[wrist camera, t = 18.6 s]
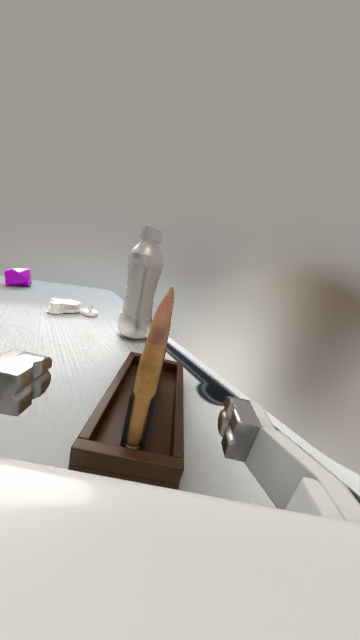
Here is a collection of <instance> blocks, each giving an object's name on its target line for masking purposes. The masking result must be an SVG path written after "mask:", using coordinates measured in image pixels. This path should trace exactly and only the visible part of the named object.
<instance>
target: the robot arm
mask: <svg viewBox="0 0 360 640" xmlns="http://www.w3.org/2000/svg"><path fill="white" fill-rule="evenodd" d="M51 367H52V360H51V358H50V357H46V356H42V355H38V354H33V353H29V352H25V351H20V350H10V351H7V352H5V353H3V354H1V355H0V414H6V415H12V416H18V415H20V414H21V413H22V412H23V411H24V410H25V409H26V408H27V407H29V406H30V405H31V403H32V399H35V398H37V397H40V396H41V395H42V394H43V393H44V392H45V391H46V389H47V388H48V386H49V384H50V381H51V374H50V373H49V371H48V369H49V368H51ZM223 404H224V407H225V408H224V409H223V410H221V411H220V414H219V418H218V430H219V434H220V435H221V436H222V437H223V439H222V442H221V443H222V447H223V452H224V456H225V458H229V459H234V460H238V461H242V462H245V464H246V466H247V467H248V469H249V470H250V471H251V473H252V474H253V476H254V477H255V478H256V480H257V481H258V482H259V484H260V485H261V487H262V488H263V489H264V491H265V492H266V494H267V495H268V496H269V498H270V499H271V500H272V502H273V503H274V505H275V506H276V507H277V508H273V507H267V506H262V505H256V504H251V503H246V502H240V501H235V500H229V499H224V498H219V497H213V496H208V495H203V494H197V493H192V492H186V491H181V490H176V489H170V488H165V487H160V486H154V485H149V484H144V483H138V482H133V481H127V480H122V479H117V478H111V477H106V476H100V475H95V474H90V473H84V472H79V471H73V470H68V469H63V468H57V467H52V466H46V465H41V464H36V463H30V462H25V461H20V460H14V459H9V458H3V457H0V640H360V504H359V502H358V501H357V500H356V499H355V497H354V496H353V495H352V493H351V492H350V491H349V489H348V488H347V487H346V485H345V484H344V483H343V482H341V481H340V480H339V479H338V478H336V477H335V476H334V475H333V474H332V473H330V472H329V471H328V470H327V469H325V468H324V467H323V466H322V465H321V464H319V463H318V462H317V461H316V460H314V459H313V458H312V457H311V456H310V455H308V454H307V453H306V452H305V451H303V450H302V449H301V448H300V447H299V446H297V445H296V444H295V443H294V442H292V441H291V440H290V439H289V438H288V437H286V436H285V435H284V434H283V433H281V432H280V431H277V430H276V429H275V427H274V426H273V424H272V422H271V421H270V419H269V417H268V416H267V414H266V412H265V411H264V409H263V407H262V406H261V404H260V403H259V402H256V401H250V400H244V399H239V398H234V397H229V396H227V397H226V398H225V400H224V403H223Z"/></svg>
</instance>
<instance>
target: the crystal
mask: <svg viewBox="0 0 360 640" xmlns="http://www.w3.org/2000/svg"><path fill="white" fill-rule="evenodd" d="M5 282H6V285H7V286H30V285H31V284H32V281H31V274H30V269H8V270H6V271H5Z"/></svg>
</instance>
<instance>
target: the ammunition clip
mask: <svg viewBox="0 0 360 640" xmlns="http://www.w3.org/2000/svg"><path fill="white" fill-rule="evenodd" d="M173 303H174V290H173V287H171V288H170V290H169V291H168V293H167V294H166V296H165V297H164V299H163V300H162V302H161V304H160V305H159V307H158V309H157V311H156V313H155V315H154V317H153V320H152V323H151V326H150V329H149V333H148V338H147V340H146V344H145V348H144V351H143V353H142V355H141V358H140V361H139V366H138V370H137V375H136V380H135V384H134V386H133V389H132V391H131V393H130V397H129V402H128V407H127V412H126V417H125V422H124V427H123V432H122V437H121V442H120V446H122V447H127V448H132V449H137V450H142V451H144V447H145V443H146V439H147V435H148V431H149V427H150V423H151V418H152V414H153V410H154V406H155V402H156V397H157V392H158V387H159V382H160V377H161V372H162V367H163V362H164V357H165V352H166V347H167V340H168V335H169V330H170V324H171V315H172V309H173Z"/></svg>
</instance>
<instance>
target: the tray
mask: <svg viewBox="0 0 360 640" xmlns="http://www.w3.org/2000/svg"><path fill="white" fill-rule="evenodd" d="M141 355H142V354H139V353H134V352H130V354H129V356H128V357H127V359H126V361H125V362H124V364H123V365H122V367H121V369H120V370H119V372H118V373H117V375H116V377H115V378H114V380H113V381H112V383H111V385H110V386H109V388H108V389H107V391H106V393H105V394H104V396H103V397H102V399H101V401H100V402H99V404H98V405H97V407H96V409H95V410H94V412H93V413H92V415H91V417H90V418H89V420H88V421H87V423H86V425H85V426H84V428H83V429H82V431H81V433H80V434H79V436H78V438H77V439H76V441H75V442H74V444H73V445H72V447H71V452H70V461H69V469H68V470H73V471H79V472H84V473H90V474H95V475H100V476H106V477H111V478H117V479H122V480H127V481H133V482H138V483H144V484H149V485H154V486H160V487H165V488H170V489H176V490H177V489H178V486H179V482H180V479H181V476H182V473H183V470H184V460H183V458H184V438H183V363H179V362H175V361H170V360H166V359H164V362H163V367H162V372H161V377H160V382H159V387H158V392H157V397H156V402H155V406H154V410H153V414H152V418H151V423H150V427H149V431H148V435H147V439H146V443H145V447H144V451H142V450H137V449H132V448H127V447H122V446H120V442H121V437H122V432H123V427H124V422H125V417H126V412H127V407H128V402H129V397H130V393H131V391H132V389H133V386H134V384H135V380H136V375H137V370H138V366H139V361H140V358H141Z"/></svg>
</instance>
